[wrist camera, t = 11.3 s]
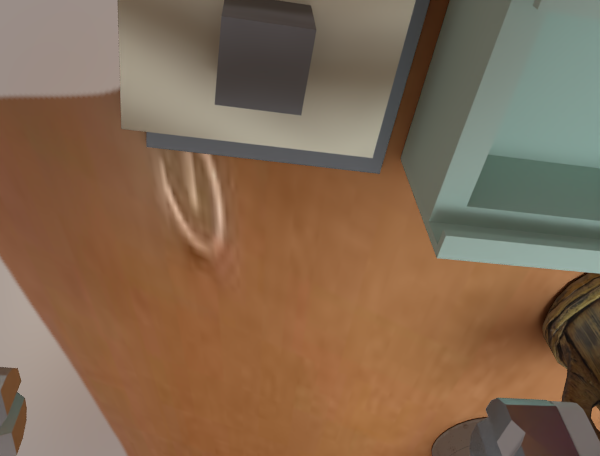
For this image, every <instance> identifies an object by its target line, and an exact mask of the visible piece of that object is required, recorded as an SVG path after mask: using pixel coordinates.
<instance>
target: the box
mask: <svg viewBox="0 0 600 456" xmlns="http://www.w3.org/2000/svg"><path fill="white" fill-rule="evenodd" d="M401 162H402V165H403V167H404V170H405V173H406V176H407V178H408V181H409V184H410V186H411V189H412V192H413V195H414V197H415V200H416V203H417V205H418V208H419V211H420V214H421V216H422V219H423V222H424V224H425V227H426V230H427V233H428V235H429V238H430V241H431V243H432V246H433V249H434V252H435V254H436V257H437V258H441V259H452V260H462V261H473V262H483V263H494V264H504V265H515V266H525V267H536V268H546V269H557V270H567V271H578V272H588V273H599V274H600V0H450V1H449V5H448V8H447V11H446V14H445V17H444V21H443V24H442V27H441V30H440V34H439V37H438V40H437V43H436V46H435V50H434V53H433V56H432V59H431V62H430V66H429V69H428V72H427V75H426V78H425V82H424V85H423V88H422V91H421V94H420V98H419V101H418V104H417V107H416V111H415V114H414V117H413V120H412V123H411V127H410V130H409V133H408V136H407V139H406V143H405V146H404V149H403V152H402V155H401Z"/></svg>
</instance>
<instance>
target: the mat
mask: <svg viewBox="0 0 600 456" xmlns="http://www.w3.org/2000/svg"><path fill="white" fill-rule="evenodd" d="M429 2H430V0H416V2H415V5H414V9H413V12H412V16H411V20H410V23H409V27H408V31H407V34H406V38H405V42H404V45H403V49H402V53H401V56H400V60H399V63H398V67H397V71H396V74H395V78H394V82H393V85H392V89H391V93H390V96H389V100H388V103H387V107H386V111H385V114H384V118H383V122H382V125H381V129H380V133H379V136H378V140H377V144H376V147H375V151H374V154H373V158H367V157H358V156H350V155H341V154H333V153H324V152H315V151H307V150H298V149H290V148H281V147H273V146H264V145H255V144H247V143H238V142H230V141H221V140H213V139H204V138H195V137H187V136H178V135H170V134H161V133H153V132H147V147H152V148H161V149H169V150H178V151H187V152H195V153H204V154H213V155H222V156H230V157H239V158H248V159H256V160H265V161H274V162H282V163H291V164H300V165H308V166H317V167H326V168H334V169H343V170H352V171H360V172H369V173H378V174H380V170H381V167H382V164H383V160H384V157H385V153H386V150H387V146H388V143H389V140H390V136H391V133H392V129H393V126H394V122H395V119H396V116H397V112H398V109H399V105H400V102H401V98H402V95H403V92H404V88H405V85H406V81H407V78H408V74H409V71H410V68H411V64H412V61H413V57H414V54H415V50H416V47H417V44H418V40H419V37H420V33H421V30H422V26H423V23H424V20H425V16H426V13H427V9H428V6H429Z"/></svg>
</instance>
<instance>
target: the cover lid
mask: <svg viewBox="0 0 600 456" xmlns="http://www.w3.org/2000/svg"><path fill="white" fill-rule="evenodd" d="M415 2H416V0H118V27H119V62H120V97H121V129H127V130H135V131H144V132H153V133H161V134H170V135H178V136H187V137H195V138H204V139H213V140H221V141H230V142H238V143H247V144H255V145H264V146H273V147H281V148H290V149H298V150H307V151H315V152H324V153H333V154H341V155H350V156H358V157H367V158H373V154H374V151H375V147H376V144H377V140H378V136H379V133H380V129H381V125H382V122H383V118H384V114H385V111H386V107H387V103H388V100H389V96H390V93H391V89H392V85H393V82H394V78H395V74H396V71H397V67H398V63H399V60H400V56H401V53H402V49H403V45H404V42H405V38H406V34H407V31H408V27H409V23H410V20H411V16H412V12H413V9H414V5H415Z"/></svg>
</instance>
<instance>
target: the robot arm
mask: <svg viewBox="0 0 600 456" xmlns="http://www.w3.org/2000/svg"><path fill="white" fill-rule="evenodd" d="M20 383H21V378H20V375H19V371H18V368H6V367H5V368H4V367H0V456H16V455H17V453H18V450H19V447H20V444H21V441H22V439H23V434H24V429H25V424H26V410H27V407H26V402H25V398H24V397H23V396H22V395H20V394H19V393H18V392H17V390H18V388H19V385H20ZM486 411H487V414H488V418H486V419H484V420H482V421H480V422H479V423H477V424H476V426H475V428H474V430H473V432H472V434H471V439H470V448H469V450H470V456H600V441H599V439H598V437H597V435H596V433H595V431H594V429H593V427H592V425H591V423H590V422H589V420H588V418H587V416H586V414H585V412H584V410H583V409H582V408H581V407H580V406H579V405H578V404H577V403H573V402H556V401H547V400H534V399H512V398H496V399H494V400H492V401H491V402H490V403H489V405H488V406H487V408H486Z"/></svg>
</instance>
